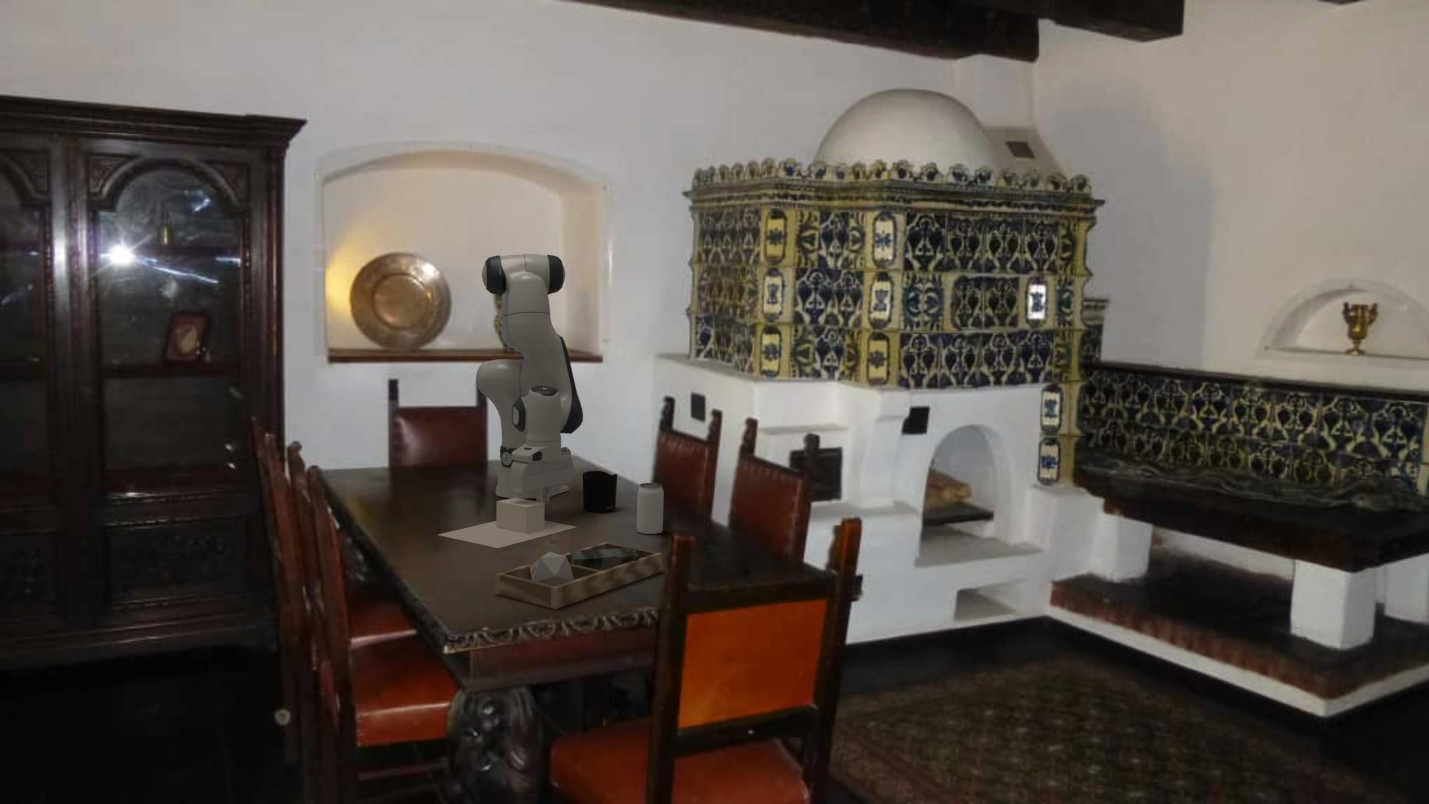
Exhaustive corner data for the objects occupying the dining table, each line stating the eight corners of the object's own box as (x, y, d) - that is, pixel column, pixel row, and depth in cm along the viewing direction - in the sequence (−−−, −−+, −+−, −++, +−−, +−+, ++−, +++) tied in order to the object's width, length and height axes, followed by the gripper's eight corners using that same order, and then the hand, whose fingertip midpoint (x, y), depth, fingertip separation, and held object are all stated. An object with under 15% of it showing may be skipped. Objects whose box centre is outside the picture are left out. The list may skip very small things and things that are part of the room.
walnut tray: (605, 559, 241) (605, 541, 241) (662, 571, 233) (662, 553, 232) (495, 593, 213) (495, 574, 212) (555, 609, 204) (556, 588, 204)
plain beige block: (514, 522, 272) (514, 497, 272) (544, 528, 267) (544, 503, 266) (496, 527, 267) (496, 501, 266) (526, 533, 262) (526, 507, 261)
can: (666, 530, 271) (667, 483, 270) (656, 536, 265) (658, 488, 264) (642, 528, 273) (643, 481, 272) (632, 533, 267) (633, 485, 266)
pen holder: (583, 513, 287) (584, 477, 286) (580, 506, 297) (581, 470, 295) (618, 513, 289) (619, 476, 288) (614, 506, 299) (615, 470, 297)
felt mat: (518, 517, 281) (518, 515, 281) (577, 528, 270) (577, 526, 270) (437, 536, 257) (437, 534, 257) (497, 549, 247) (497, 548, 247)
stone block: (568, 569, 231) (569, 546, 231) (632, 568, 235) (633, 545, 234) (572, 580, 223) (573, 556, 222) (639, 579, 226) (639, 555, 226)
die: (541, 587, 220) (518, 555, 215) (578, 567, 220) (556, 535, 215) (546, 612, 213) (523, 580, 208) (585, 592, 213) (562, 559, 208)
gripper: (561, 444, 282) (560, 496, 284) (506, 453, 265) (505, 508, 267) (579, 447, 279) (578, 499, 280) (525, 456, 262) (524, 512, 263)
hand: (542, 504), depth 273 cm, fingers closed
